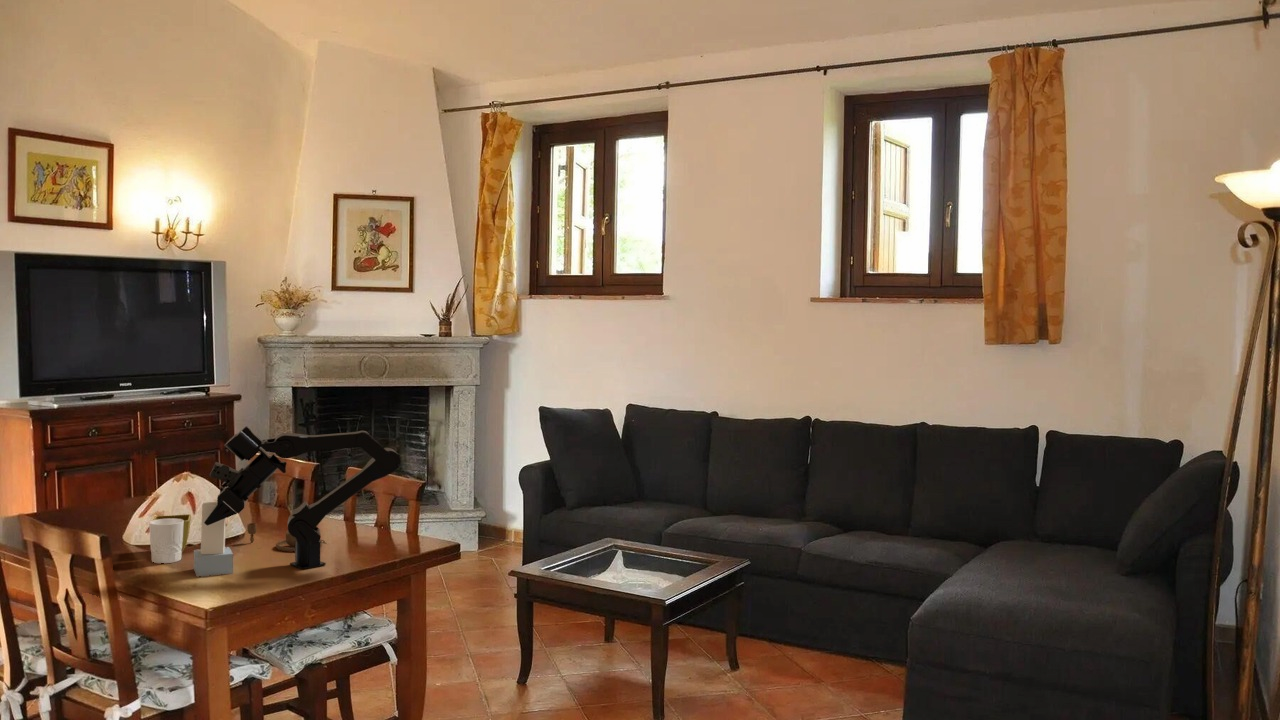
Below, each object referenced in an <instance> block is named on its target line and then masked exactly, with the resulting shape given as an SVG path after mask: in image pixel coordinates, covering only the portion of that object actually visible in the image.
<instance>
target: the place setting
mask: <svg viewBox="0 0 1280 720" xmlns="http://www.w3.org/2000/svg"><path fill="white" fill-rule="evenodd" d="M246 527H247V533H248V534H249V535H250V538H249V540H250V543H253V542H254V541H255V537H254V536H255V534H256V533H257V532H258V531H257V530H258V523H256V522H255V523H254V522H251V523H250V522H249V523H247V526H246ZM296 540H297V539H296V537H293V536H292V535H291V534H290V533H289V531H288V530H287V531H285V539H284V540H280V541H278V542H276V543H275V547H276V549H277V550H278V549H279V550H278V551H280V550H283V551H282V552H285V551H290V552H289V553H295V546H296ZM322 541H323V542H322ZM327 543H328V542H326V541H325V540H324V539H320V548H321V547H322V546H323V544H326V545H328V544H327ZM283 544H287V545H288V546H290V547H286V546H285V547H284V545H283ZM280 545H283V546H280ZM293 551H294V552H293Z"/></svg>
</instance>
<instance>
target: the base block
mask: <svg viewBox="0 0 1280 720" xmlns="http://www.w3.org/2000/svg"><path fill="white" fill-rule="evenodd" d="M193 571H194V572H195V575H196V577H197V578H199V576H201V577H210V576H209V575H211V576H220V575H221V574H222V575H230V574H232V575H233V574H234V553H233V551H232V550H231V548H230V547H229V546H225V550H224V553H223V554H201V548H200V549H199V548H198V549H193Z"/></svg>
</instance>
